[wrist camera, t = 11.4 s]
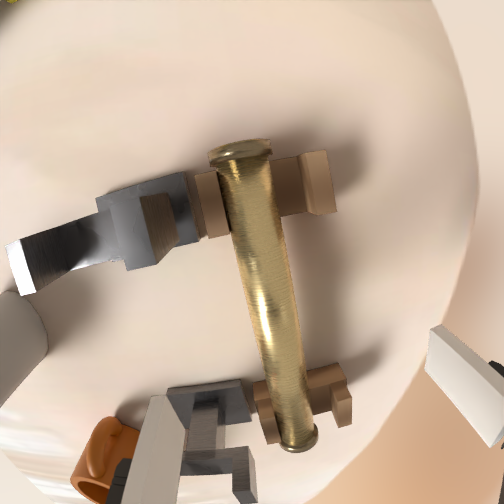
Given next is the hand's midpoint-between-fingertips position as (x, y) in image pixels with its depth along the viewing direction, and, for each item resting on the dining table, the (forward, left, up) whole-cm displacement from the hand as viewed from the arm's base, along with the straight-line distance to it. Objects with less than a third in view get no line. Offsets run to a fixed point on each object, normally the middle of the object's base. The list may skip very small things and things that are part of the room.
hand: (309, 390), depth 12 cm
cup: (-2, -27, -11) cm, 29 cm away
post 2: (+9, -8, -11) cm, 16 cm away
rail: (0, 0, -8) cm, 8 cm away
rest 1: (-9, 0, -11) cm, 14 cm away
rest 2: (+9, 0, -11) cm, 14 cm away
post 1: (-9, -8, -11) cm, 16 cm away
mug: (+15, -20, -11) cm, 27 cm away
